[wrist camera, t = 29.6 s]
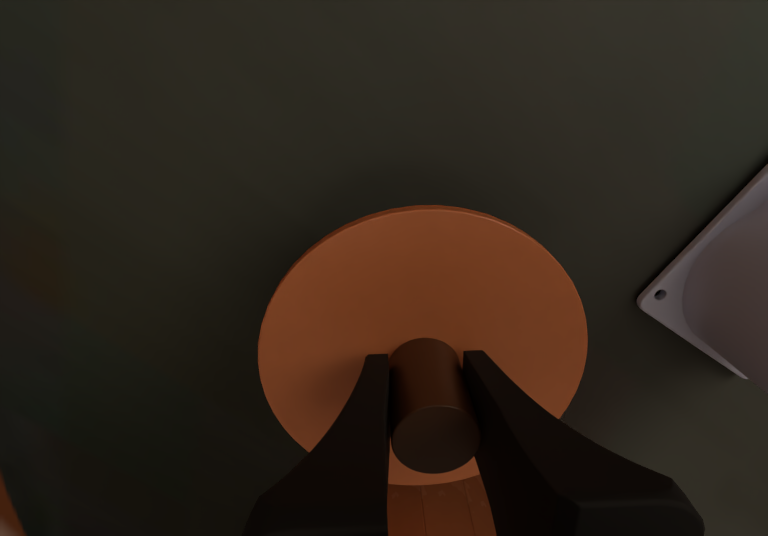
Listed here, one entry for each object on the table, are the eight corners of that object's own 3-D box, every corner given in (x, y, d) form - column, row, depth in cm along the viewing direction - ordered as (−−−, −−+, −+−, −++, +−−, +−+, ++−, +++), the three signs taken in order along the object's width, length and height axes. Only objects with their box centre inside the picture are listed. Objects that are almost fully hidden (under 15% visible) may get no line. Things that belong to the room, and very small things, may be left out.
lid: (374, 127, 13) (376, 153, 9) (640, 308, 15) (732, 390, 11) (211, 387, 16) (161, 489, 12) (450, 498, 19) (471, 612, 15)
